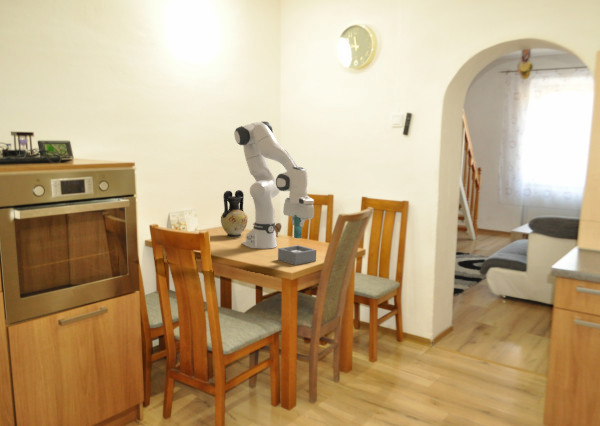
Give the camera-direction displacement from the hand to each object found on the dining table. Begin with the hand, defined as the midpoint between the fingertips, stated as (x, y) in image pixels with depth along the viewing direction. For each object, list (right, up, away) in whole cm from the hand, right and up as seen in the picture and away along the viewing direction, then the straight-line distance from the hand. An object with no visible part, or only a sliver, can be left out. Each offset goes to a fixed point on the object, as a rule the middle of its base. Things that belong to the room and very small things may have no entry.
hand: (297, 225), depth 240 cm
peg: (0, -6, +1) cm, 6 cm away
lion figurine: (-17, -9, +64) cm, 67 cm away
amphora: (-41, -9, +62) cm, 75 cm away
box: (0, -18, +3) cm, 18 cm away
